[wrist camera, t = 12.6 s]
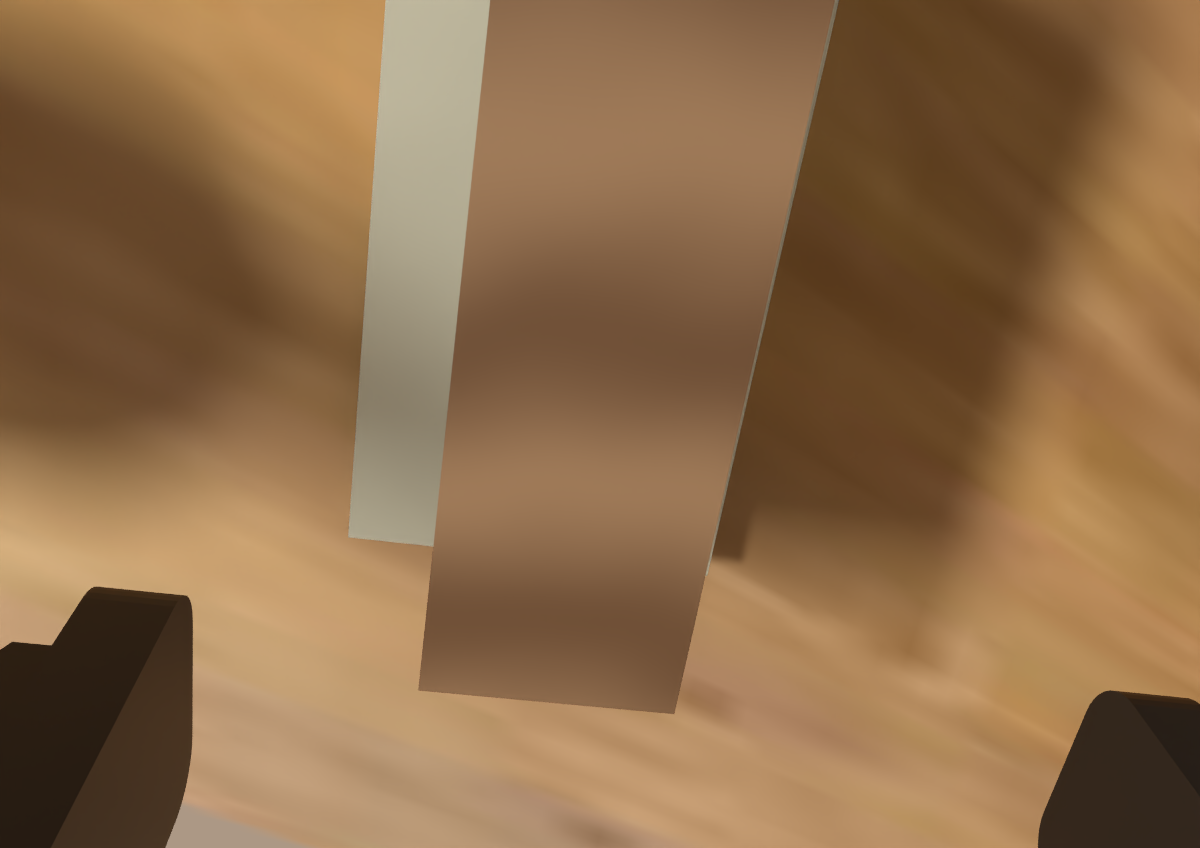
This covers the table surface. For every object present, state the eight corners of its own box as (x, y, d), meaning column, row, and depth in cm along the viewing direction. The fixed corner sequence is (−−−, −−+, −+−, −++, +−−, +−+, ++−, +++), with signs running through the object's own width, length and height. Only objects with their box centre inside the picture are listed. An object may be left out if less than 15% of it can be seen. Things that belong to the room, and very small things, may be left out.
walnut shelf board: (519, -199, 20) (513, -222, 16) (805, -148, 20) (870, -158, 16) (437, 567, 26) (418, 690, 22) (654, 590, 27) (673, 713, 23)
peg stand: (354, 515, 32) (322, 623, 27) (414, -315, 23) (382, -367, 19) (701, 553, 33) (728, 663, 28) (877, -228, 24) (956, -258, 20)
